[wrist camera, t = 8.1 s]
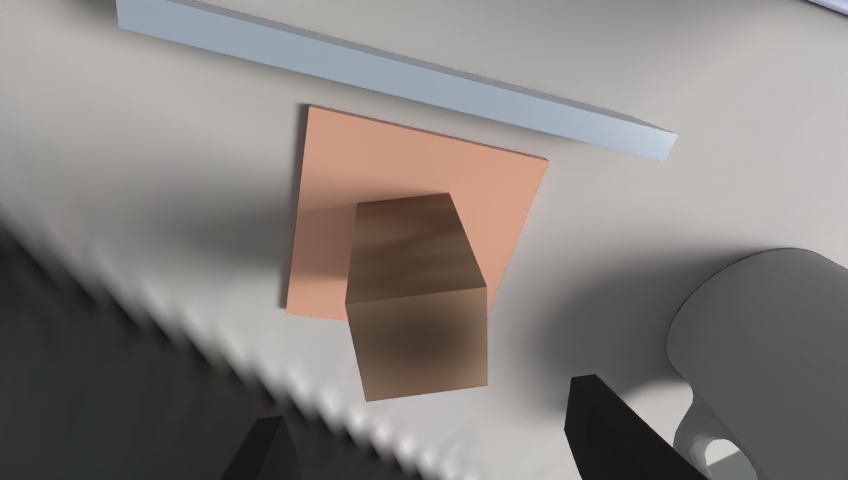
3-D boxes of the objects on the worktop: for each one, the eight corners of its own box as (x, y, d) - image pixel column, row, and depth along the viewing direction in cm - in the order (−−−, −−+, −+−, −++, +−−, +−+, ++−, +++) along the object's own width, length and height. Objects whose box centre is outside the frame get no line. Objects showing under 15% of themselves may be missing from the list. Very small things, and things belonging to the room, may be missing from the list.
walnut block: (449, 192, 17) (486, 286, 11) (453, 269, 19) (487, 385, 13) (357, 203, 17) (344, 304, 11) (370, 279, 19) (366, 401, 13)
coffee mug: (809, 212, 20) (1133, 358, 12) (854, 318, 24) (1119, 484, 16) (586, 357, 24) (705, 554, 15) (658, 428, 28) (785, 615, 19)
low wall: (632, 116, 17) (678, 134, 14) (621, 139, 17) (664, 161, 15) (166, -7, 13) (114, -14, 11) (167, 26, 14) (118, 27, 11)
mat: (545, 158, 18) (549, 161, 17) (476, 332, 22) (478, 337, 22) (310, 104, 16) (309, 106, 15) (287, 308, 20) (285, 313, 20)
